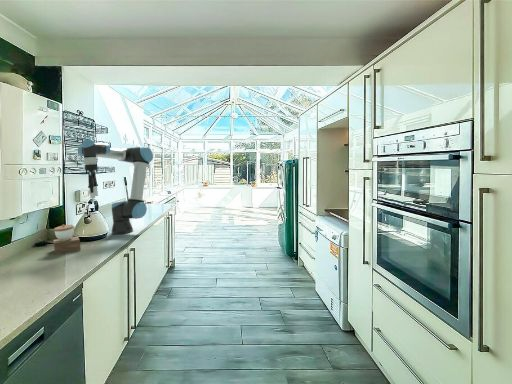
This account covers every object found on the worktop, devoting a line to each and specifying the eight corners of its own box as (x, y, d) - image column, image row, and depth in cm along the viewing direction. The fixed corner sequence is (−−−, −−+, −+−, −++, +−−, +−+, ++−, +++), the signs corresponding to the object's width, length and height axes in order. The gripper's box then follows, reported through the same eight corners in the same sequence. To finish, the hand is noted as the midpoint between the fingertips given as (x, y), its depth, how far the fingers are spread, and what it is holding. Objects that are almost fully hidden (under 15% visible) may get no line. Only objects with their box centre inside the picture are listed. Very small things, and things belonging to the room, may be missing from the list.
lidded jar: (60, 242, 236) (58, 227, 234) (53, 240, 243) (50, 225, 241) (78, 237, 244) (75, 223, 242) (70, 235, 251) (67, 221, 249)
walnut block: (54, 250, 247) (53, 239, 246) (78, 247, 253) (77, 236, 253) (55, 255, 234) (53, 243, 234) (80, 251, 241) (79, 239, 240)
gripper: (94, 163, 243) (98, 198, 245) (99, 163, 267) (102, 195, 269) (81, 164, 241) (84, 199, 243) (87, 164, 265) (91, 196, 267)
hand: (94, 197), depth 256 cm, fingers open, 13 cm apart
